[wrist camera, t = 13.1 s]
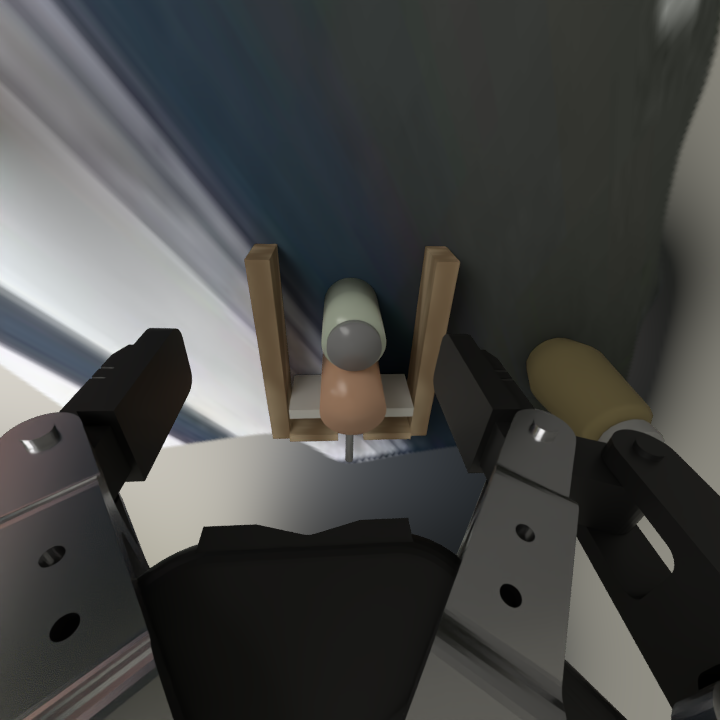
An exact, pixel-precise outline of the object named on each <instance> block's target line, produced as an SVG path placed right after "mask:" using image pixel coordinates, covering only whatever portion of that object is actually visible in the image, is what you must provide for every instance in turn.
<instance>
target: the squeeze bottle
mask: <svg viewBox="0 0 720 720" xmlns="http://www.w3.org/2000/svg"><path fill="white" fill-rule="evenodd" d="M526 363H527V373H528V378H529V384H530V389H531V391H532V393H533V394H534V396H535V397H536V398H537V400H538V401H539V402H540V403H541V404H542V405H543V406H544V407H545V408H546V409H547V410H548V411H549V412H550V413H551V414H553V415H555V416H556V417H558V418H560V419H561V420H563V421H564V422H565V423H566V424H568V425H569V427H570V428H571V429H572V430H573V432H574V434H575V436H578V437H582V438H586V439H591V440H595V441H600V442H604V443H607V442H608V441H609V439H610V438H611V436H612V435H613V433H614V432H616V431H618V430H622V429H629V430H635V431H639V432H643V433H645V434H648V435H650V436H652V437H655V438H656V439H658V440H660V441H662V442H663V443H664V438H663V436H662V434H661V433H660V432H658V431H657V430H656V429H655V428H654V427H653V426H652V425H651V421H652V418H653V414H652V412H651V409H650V407H649V406H648V405H647V404H646V403H645V402H644V400H643V399H642V398H641V397H640V396H639V395H638V394H637V393H636V392H635V390H634V389H633V388H632V387H631V386H630V385H629V384H628V382H627V381H626V380H625V379H624V378H623V377H622V376H621V375H620V373H619V372H618V371H617V370H616V369H615V368H614V367H613V366H612V364H611V363H610V362H609V361H608V360H607V359H606V358H605V357H604V355H603V354H602V353H601V352H600V351H598V350H596V349H594V348H593V347H591V346H588V345H585V344H582V343H579V342H576V341H573V340H570V339H567V338H554V339H550V340H546V341H545V342H543V343H541V344H540V345H538V346H537V347H536V348H535V349H534V350H533V351H532V352H531V353H530V355H529V357H528V359H527V361H526Z"/></svg>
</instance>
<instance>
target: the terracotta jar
mask: <svg viewBox="0 0 720 720" xmlns="http://www.w3.org/2000/svg"><path fill="white" fill-rule="evenodd" d="M385 415H386V402H385V397H384V391H383V386H382V380H381V375H380V369H379V364H378V361H377V362H376V363H374V364H373V365H372V366H370V367H369V368H367V369H364V370H361V371H346V370H343V369H340V368H339V367H337V366H335V365H334V364H332V363H331V362H330V361H329V360H328V359H327V358H326V356H325V355H324V353H323V357H322V374H321V392H320V417H321V420H322V421H323V423H324V424H325V425H326V426H327V427H328V428H329V429H331V430H333V431H335V432H337V433H340V434H345V435H358V434H363V433H366V432H369V431H371V430H373V429H374V428H376V427H377V426H378V425H379V424H380V423H381V422H382V421H383V419H384V417H385Z"/></svg>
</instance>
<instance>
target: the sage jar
mask: <svg viewBox="0 0 720 720" xmlns="http://www.w3.org/2000/svg"><path fill="white" fill-rule="evenodd" d="M321 345H322V350H323V353H324V355H325V356H326V358H327V359H328V360H329V361H330V362H331V363H332V364H334V365H335V366H337V367H339V368H340V369H343V370H346V371H361V370H364V369H367V368H369V367H370V366H372V365H373V364H374V363H376V362H377V361H378V360H379V359H380V358H381V356H382V355H383V353H384V351H385V348H386V336H385V331H384V327H383V322H382V318H381V314H380V309H379V305H378V300H377V296H376V293H375V291H374V289H373V288H372V287H371V286H370V285H369V284H368V283H367V282H365V281H363V280H361V279H357V278H345V279H341V280H339V281H337V282H335V283H334V284H333V285H332V286H331V287H330V288H329V289H328V291H327V293H326V295H325V300H324V313H323V327H322V341H321Z"/></svg>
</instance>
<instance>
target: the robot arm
mask: <svg viewBox="0 0 720 720" xmlns="http://www.w3.org/2000/svg"><path fill="white" fill-rule="evenodd" d="M191 384H192V374H191V369H190V365H189V361H188V357H187V353H186V349H185V345H184V341H183V337H182V334H181V332H180V331H179V330H178V329H171V328H149V329H147V330H146V331H145V332H144V333H143V334H142V336H141V337H140V338H139V339H138V340H137V341H136V343H135V344H134V345H128V346H126V347H124V348H122V349H121V350H119V351H117V352H116V353H114V354H112V355H111V356H110V357H109V358H108V359H107V361H106V362H105V363H104V364H103V365H102V366H101V369H98V370H97V371H96V372H95V374H94V375H93V376H92V379H89V380H88V381H87V382H86V383H85V384H84V386H83V387H82V388H81V389H80V390H79V391H78V392H77V393H76V394H75V395H74V396H73V397H72V399H71V400H70V401H69V402H68V403H67V404H66V405H65V406H64V407H63V408H62V409H61V410H60V412H57V413H49V414H44V415H41V416H37V417H34V418H32V419H29V420H27V421H24V422H22V423H20V424H18V425H17V426H15V427H13V428H12V429H10V430H9V431H8V432H6V433H5V434H4V435H3V436H2V437H1V438H0V720H627V719H626V718H625V717H624V716H623V715H622V714H621V713H620V712H619V711H618V710H617V709H616V708H614V707H613V705H612V704H611V703H610V702H608V701H607V700H606V699H605V698H604V697H603V696H602V695H601V694H600V693H599V692H598V691H597V690H596V689H595V688H594V687H593V686H592V685H591V684H590V683H589V682H588V681H587V680H586V679H585V678H584V677H583V676H582V675H581V674H580V673H579V672H578V671H577V670H576V669H575V668H573V667H572V666H571V665H570V664H569V663H568V662H567V661H566V660H565V649H566V638H567V628H568V618H569V608H570V607H569V606H570V597H571V586H572V576H573V565H574V556H575V545H576V536H577V538H578V540H579V542H580V543H581V545H582V547H583V549H584V551H585V552H586V554H587V556H588V558H589V560H590V562H591V563H592V565H593V567H594V569H595V570H596V572H597V574H598V576H599V578H600V580H601V581H602V583H603V585H604V587H605V589H606V590H607V592H608V594H609V596H610V597H611V599H612V601H613V603H614V605H615V607H616V608H617V610H618V612H619V614H620V615H621V617H622V619H623V621H624V623H625V624H626V626H627V628H628V630H629V631H630V633H631V635H632V637H633V639H634V640H635V643H636V644H637V646H638V648H639V650H640V651H641V653H642V655H643V657H644V659H645V661H646V662H647V664H648V665H649V668H650V669H651V671H652V673H653V675H654V677H655V678H656V680H657V682H658V684H659V686H660V688H661V689H662V691H663V693H664V695H665V696H666V698H667V700H668V702H669V704H670V706H671V707H672V714H671V720H720V496H719V495H718V494H717V493H716V492H715V491H714V490H713V489H712V488H711V487H710V486H709V485H708V484H707V483H706V482H705V481H704V480H703V479H702V478H701V477H700V476H699V475H698V474H697V473H696V472H695V471H694V470H693V469H692V468H691V467H690V466H689V465H688V464H687V463H686V462H685V461H684V460H683V459H682V458H681V457H680V456H679V455H678V454H677V453H676V452H675V451H674V450H673V449H671V448H670V447H669V446H668V445H666V444H665V443H663V442H662V441H660V440H658V439H656V438H655V437H652V436H650V435H648V434H645V433H643V432H639V431H635V430H629V429H622V430H618V431H616V432H614V433H613V435H612V436H611V438H610V439H609V441H608V442H607V443H604V442H600V441H595V440H591V439H586V438H582V437H578V436H575V434H574V432H573V430H572V429H571V428H570V427H569V425H568V424H566V423H565V422H564V421H563V420H561V419H560V418H558V417H556V416H555V415H553V414H550V413H548V412H545V411H542V410H537V409H535V408H534V407H533V406H532V404H531V403H530V402H529V400H528V399H527V398H526V396H525V395H524V394H523V392H522V391H521V390H520V388H519V387H518V386H517V384H516V383H515V382H514V381H512V378H511V376H510V375H509V373H508V372H506V369H505V368H504V367H503V365H502V364H501V363H500V361H499V360H498V359H497V358H496V357H494V356H493V355H491V354H490V353H488V352H487V351H486V350H480V348H479V347H478V346H477V344H476V343H475V341H474V340H473V338H472V337H471V336H470V335H468V334H445V335H444V336H443V338H442V341H441V345H440V350H439V354H438V358H437V362H436V367H435V371H434V376H433V385H434V391H435V394H436V396H437V399H438V401H439V403H440V406H441V408H442V411H443V413H444V416H445V418H446V420H447V423H448V425H449V428H450V430H451V432H452V435H453V437H454V440H455V442H456V444H457V447H458V449H459V452H460V454H461V456H462V459H463V461H464V464H465V466H466V468H467V471H468V473H484V474H485V476H486V479H487V480H486V482H485V484H484V487H483V490H482V492H481V495H480V497H479V500H478V502H477V505H476V508H475V510H474V513H473V515H472V518H471V521H470V523H469V526H468V528H467V531H466V534H465V537H464V539H463V541H462V544H461V547H460V548H459V551H458V553H457V555H455V554H454V553H453V552H451V551H450V550H448V549H447V548H445V547H443V546H442V545H440V544H438V543H436V542H434V541H432V540H430V539H427V538H424V537H421V536H418V535H414V534H411V529H410V525H409V521H408V518H398V519H397V518H396V519H374V520H359V521H356V522H352V523H349V524H346V525H342V526H339V527H336V528H333V529H329V530H326V531H323V532H320V533H316V534H312V535H302V534H298V533H293V532H289V531H284V530H279V529H275V528H270V527H265V526H261V525H234V526H212V527H211V526H210V527H203V530H202V533H201V537H200V540H199V543H198V545H195V546H192V547H189V548H187V549H184V550H182V551H179V552H177V553H175V554H173V555H171V556H169V557H168V558H166V559H164V560H162V561H161V562H159V563H158V564H156V565H154V566H153V567H151V568H149V565H148V563H147V561H146V559H145V556H144V554H143V551H142V549H141V546H140V544H139V541H138V538H137V536H136V533H135V531H134V528H133V525H132V523H131V520H130V518H129V515H128V512H127V510H126V507H125V504H124V502H123V499H122V497H121V495H120V493H119V491H120V490H121V488H122V486H123V484H124V483H125V482H134V481H145V480H146V478H147V475H148V474H149V472H150V470H151V468H152V466H153V464H154V462H155V460H156V458H157V456H158V454H159V452H160V450H161V448H162V446H163V444H164V442H165V440H166V438H167V436H168V434H169V432H170V430H171V428H172V426H173V424H174V422H175V420H176V418H177V416H178V414H179V412H180V410H181V408H182V406H183V404H184V402H185V400H186V398H187V396H188V394H189V392H190V389H191ZM644 515H645V517H646V518H647V519H648V520H649V522H650V523H651V524H652V526H653V527H654V528H655V529H656V531H657V532H658V534H659V535H660V536H661V538H662V539H663V540H664V541H665V543H666V544H667V546H668V547H669V549H670V550H671V552H672V555H673V558H674V570H673V572H672V573H671V571H670V570H669V569H668V567H667V566H666V565H665V563H664V562H663V561H662V559H661V558H660V556H659V555H658V554H657V552H656V551H655V549H654V548H653V547H652V545H651V544H650V542H649V541H648V540H647V538H646V537H645V536H644V534H643V533H642V532H641V530H640V529H639V527H638V526H637V523H638V522H639V521H640V520H641V518H642V517H643V516H644Z"/></svg>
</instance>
